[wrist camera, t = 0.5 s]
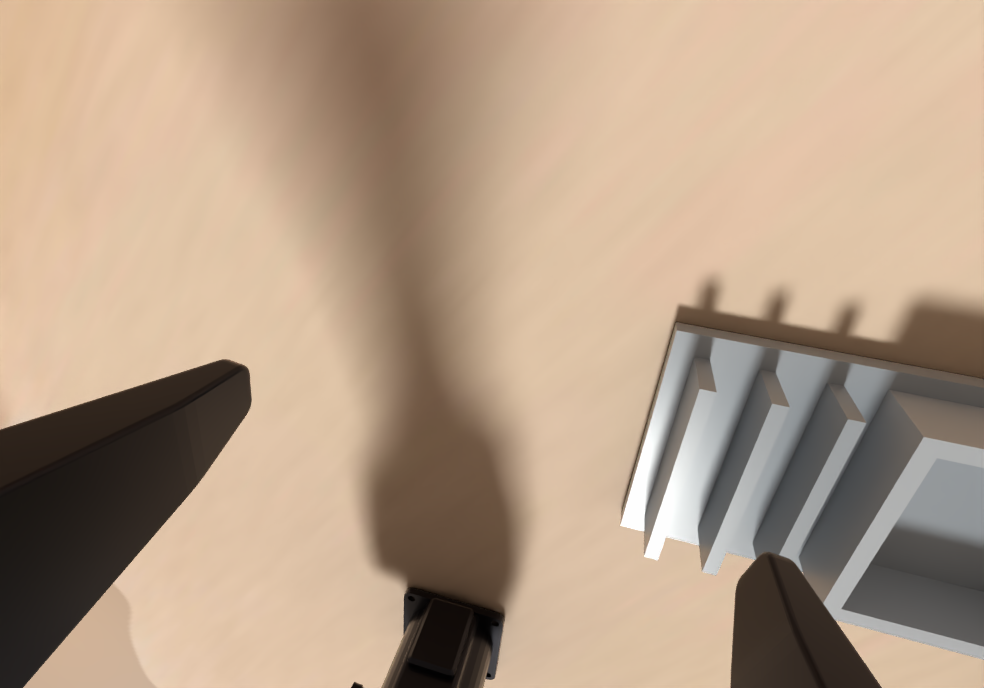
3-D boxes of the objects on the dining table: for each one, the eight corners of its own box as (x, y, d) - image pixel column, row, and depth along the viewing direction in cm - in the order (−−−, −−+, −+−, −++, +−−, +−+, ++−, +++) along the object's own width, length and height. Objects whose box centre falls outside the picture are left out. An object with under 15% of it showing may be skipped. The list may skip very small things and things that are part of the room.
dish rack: (1035, 618, 24) (1096, 704, 21) (621, 514, 27) (617, 574, 24) (1217, 422, 19) (1335, 497, 16) (676, 322, 22) (680, 367, 19)
